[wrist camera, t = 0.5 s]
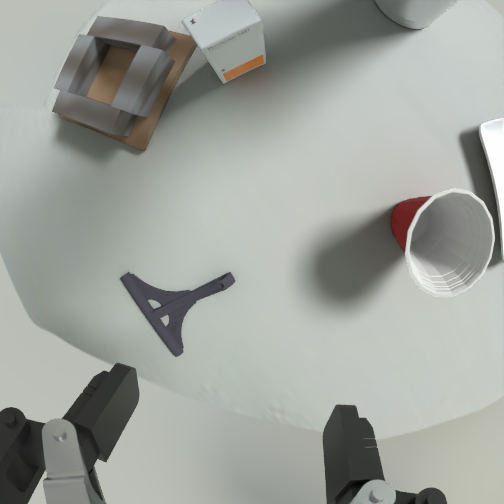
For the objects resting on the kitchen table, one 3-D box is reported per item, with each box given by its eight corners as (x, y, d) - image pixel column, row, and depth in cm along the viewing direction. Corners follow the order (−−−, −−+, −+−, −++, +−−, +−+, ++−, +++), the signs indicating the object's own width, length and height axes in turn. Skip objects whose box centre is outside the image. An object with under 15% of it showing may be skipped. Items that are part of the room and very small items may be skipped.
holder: (109, 22, 29) (89, 9, 23) (199, 41, 29) (186, 23, 24) (64, 117, 33) (39, 114, 28) (145, 150, 34) (123, 149, 29)
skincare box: (224, 85, 31) (198, 51, 20) (208, 60, 30) (178, 19, 19) (268, 63, 30) (263, 20, 18) (252, 38, 29) (240, -11, 18)
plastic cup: (364, 184, 33) (404, 195, 22) (438, 175, 32) (493, 183, 20) (373, 268, 36) (408, 310, 24) (442, 254, 34) (491, 287, 23)
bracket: (260, 317, 40) (259, 327, 37) (176, 351, 43) (171, 362, 40) (205, 225, 37) (200, 230, 34) (123, 274, 40) (114, 281, 38)
